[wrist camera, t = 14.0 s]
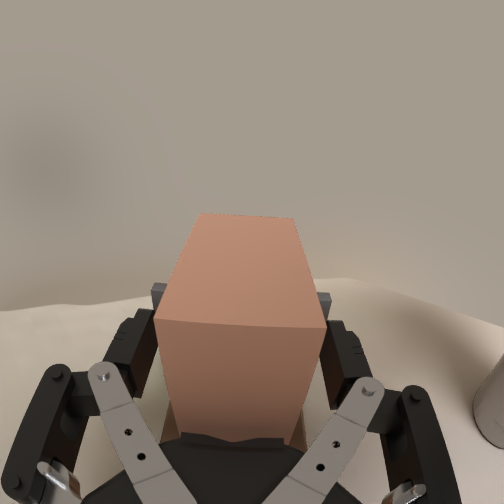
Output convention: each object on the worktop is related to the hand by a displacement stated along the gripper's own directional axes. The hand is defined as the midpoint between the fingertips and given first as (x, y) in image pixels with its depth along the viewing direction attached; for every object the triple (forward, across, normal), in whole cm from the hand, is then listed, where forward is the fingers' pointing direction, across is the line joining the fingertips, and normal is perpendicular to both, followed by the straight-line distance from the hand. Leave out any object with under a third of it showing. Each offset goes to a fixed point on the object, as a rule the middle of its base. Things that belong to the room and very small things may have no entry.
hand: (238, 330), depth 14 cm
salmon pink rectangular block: (-2, 0, +10) cm, 10 cm away
